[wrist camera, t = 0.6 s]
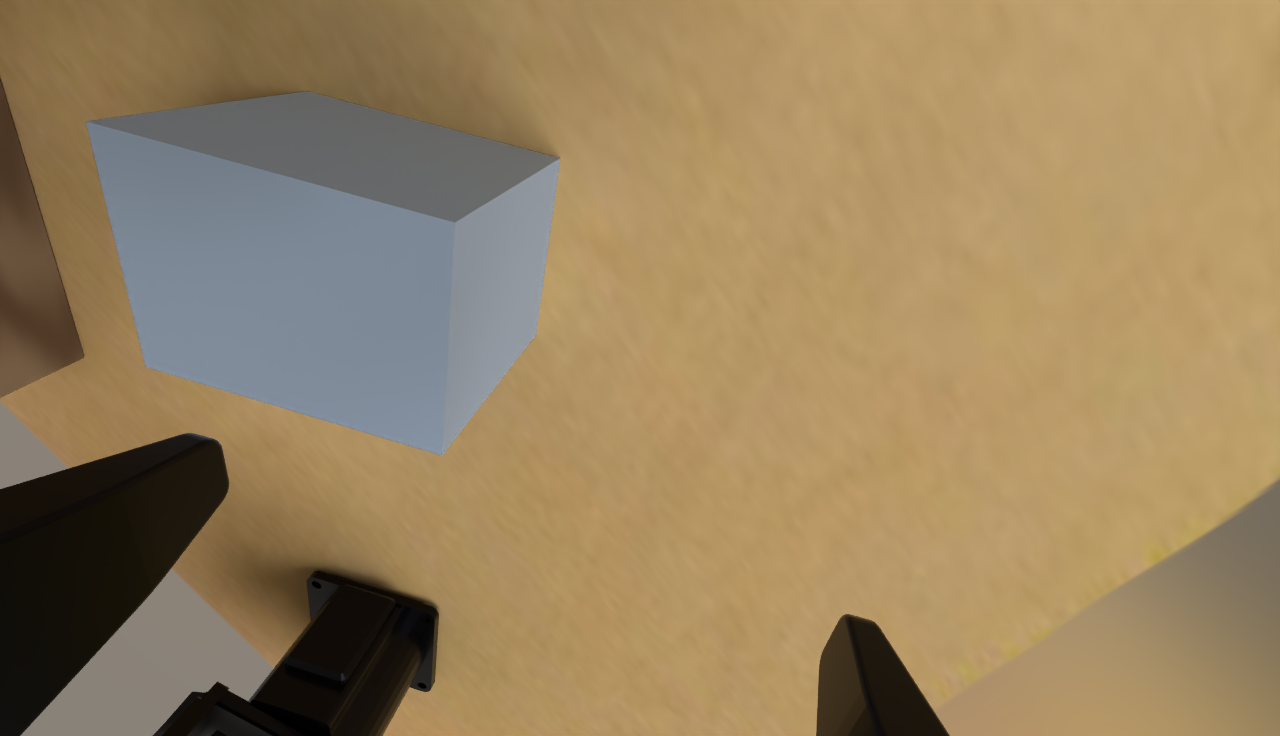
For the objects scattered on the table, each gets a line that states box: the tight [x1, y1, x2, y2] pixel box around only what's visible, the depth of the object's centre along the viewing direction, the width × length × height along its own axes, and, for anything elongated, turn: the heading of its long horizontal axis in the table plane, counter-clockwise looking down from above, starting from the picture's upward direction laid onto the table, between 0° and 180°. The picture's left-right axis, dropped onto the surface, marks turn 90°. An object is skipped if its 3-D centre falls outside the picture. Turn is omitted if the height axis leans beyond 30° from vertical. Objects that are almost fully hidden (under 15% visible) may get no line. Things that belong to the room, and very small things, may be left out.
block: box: [86, 91, 560, 455], centre depth 17 cm, size 6×8×7 cm
